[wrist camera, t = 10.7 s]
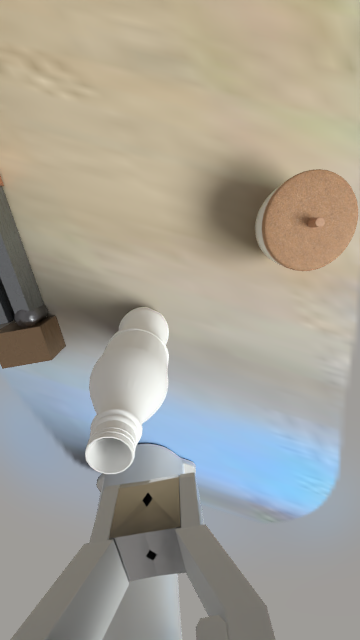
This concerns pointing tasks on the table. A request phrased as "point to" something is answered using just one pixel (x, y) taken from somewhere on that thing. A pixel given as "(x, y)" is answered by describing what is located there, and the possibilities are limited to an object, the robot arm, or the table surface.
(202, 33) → the table surface
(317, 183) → the lidded jar
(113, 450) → the water bottle
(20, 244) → the tong arm
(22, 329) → the tong base
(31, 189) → the table surface
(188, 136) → the table surface
